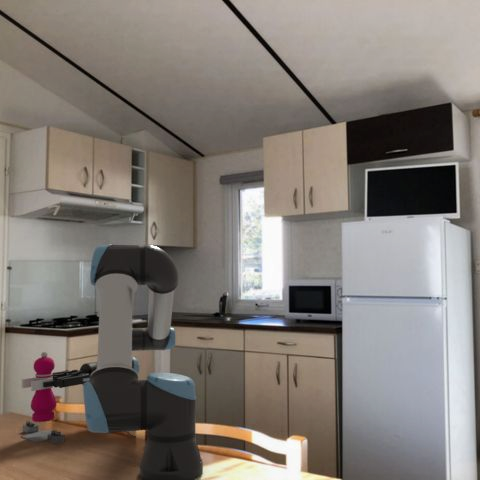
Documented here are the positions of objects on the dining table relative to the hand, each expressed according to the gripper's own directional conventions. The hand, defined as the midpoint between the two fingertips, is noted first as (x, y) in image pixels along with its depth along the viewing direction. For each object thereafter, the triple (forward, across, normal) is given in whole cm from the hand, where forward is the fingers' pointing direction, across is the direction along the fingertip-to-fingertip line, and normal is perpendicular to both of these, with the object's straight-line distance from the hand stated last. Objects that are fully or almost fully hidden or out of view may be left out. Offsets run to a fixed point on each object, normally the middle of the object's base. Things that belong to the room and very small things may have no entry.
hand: (27, 384), depth 162 cm
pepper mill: (-5, 0, -11) cm, 12 cm away
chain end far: (-5, +7, -16) cm, 18 cm away
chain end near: (-5, -8, -16) cm, 18 cm away
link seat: (-5, 0, -16) cm, 17 cm away
